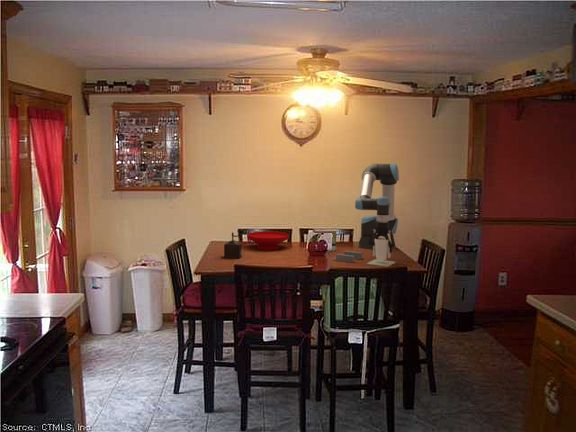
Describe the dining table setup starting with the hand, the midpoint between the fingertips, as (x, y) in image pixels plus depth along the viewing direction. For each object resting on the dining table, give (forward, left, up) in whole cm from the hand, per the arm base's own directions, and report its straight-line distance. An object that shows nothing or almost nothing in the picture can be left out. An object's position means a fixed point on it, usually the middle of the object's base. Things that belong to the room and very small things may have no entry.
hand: (381, 256), depth 330 cm
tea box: (-22, -52, -5) cm, 57 cm away
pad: (0, 0, -4) cm, 4 cm away
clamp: (0, -22, -4) cm, 22 cm away
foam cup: (0, 0, -2) cm, 2 cm away
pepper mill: (+33, -91, -5) cm, 97 cm away
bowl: (-7, -90, -5) cm, 90 cm away
